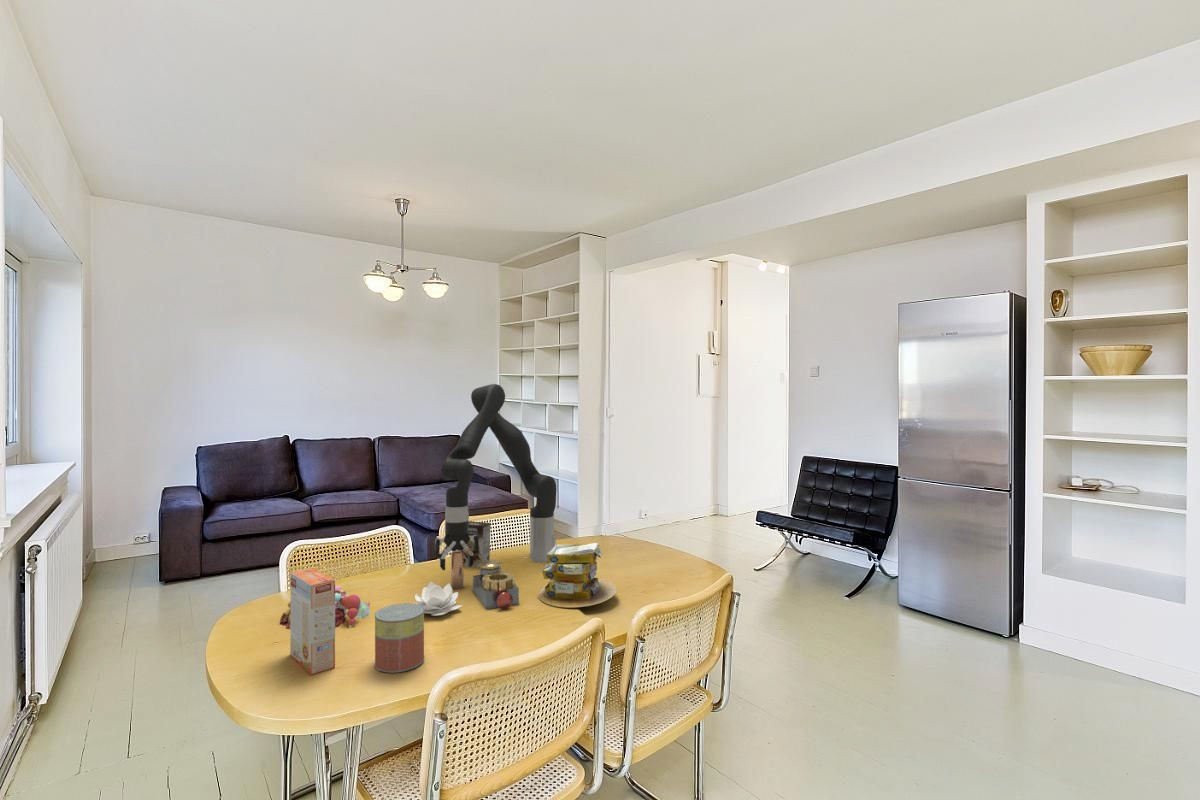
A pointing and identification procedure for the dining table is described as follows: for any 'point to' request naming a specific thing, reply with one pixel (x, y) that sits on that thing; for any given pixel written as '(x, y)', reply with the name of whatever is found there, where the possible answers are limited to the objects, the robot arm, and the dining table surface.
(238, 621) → the dining table surface
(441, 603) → the lotus flower
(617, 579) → the dining table surface
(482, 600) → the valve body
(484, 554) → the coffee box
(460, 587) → the copper pipe
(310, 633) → the cracker box
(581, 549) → the stacked food boxes
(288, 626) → the candy landscape model
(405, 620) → the canned food
